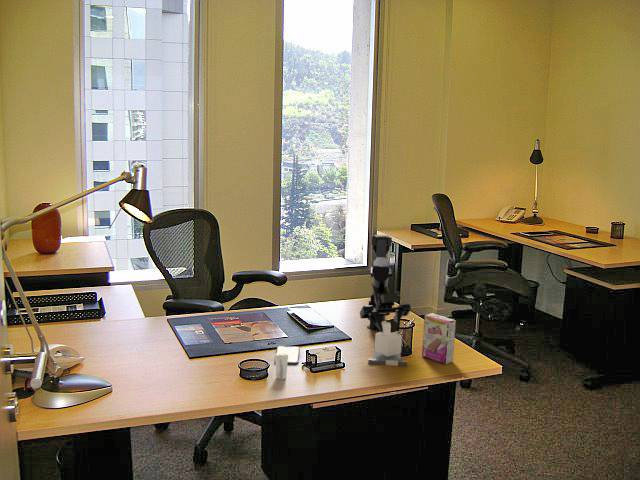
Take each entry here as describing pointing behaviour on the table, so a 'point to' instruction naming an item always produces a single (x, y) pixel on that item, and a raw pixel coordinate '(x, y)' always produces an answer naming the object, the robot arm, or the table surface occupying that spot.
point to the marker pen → (387, 362)
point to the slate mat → (393, 357)
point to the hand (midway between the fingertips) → (390, 331)
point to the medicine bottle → (388, 339)
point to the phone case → (290, 354)
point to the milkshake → (281, 364)
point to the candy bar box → (438, 338)
